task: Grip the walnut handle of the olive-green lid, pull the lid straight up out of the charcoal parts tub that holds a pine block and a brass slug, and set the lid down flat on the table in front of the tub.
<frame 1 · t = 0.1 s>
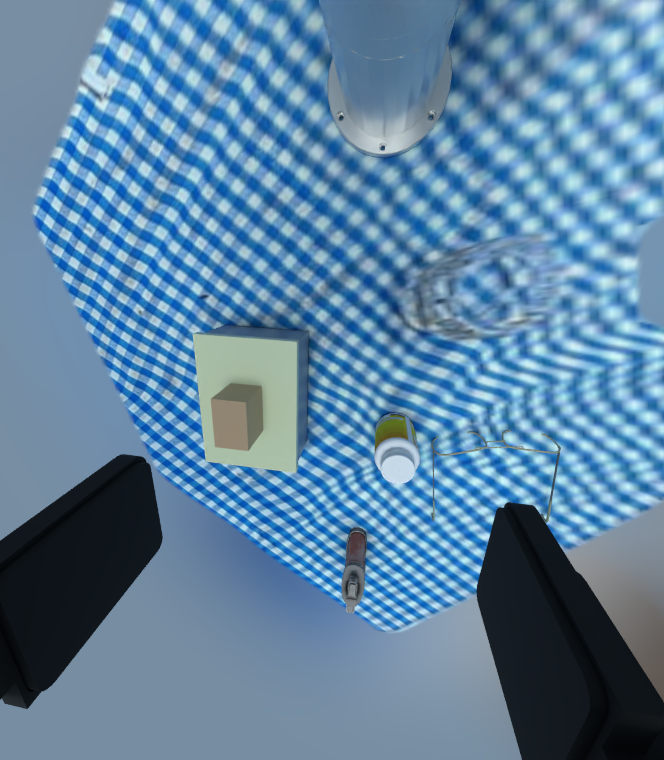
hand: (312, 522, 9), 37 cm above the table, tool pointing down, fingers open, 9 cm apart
lid: (250, 403, 42), point 7 cm above the table, touching tub
lighter: (356, 544, 56), on the table
eyeglasses: (485, 472, 49), on the table
tub: (268, 385, 48), on the table
supplement bottle: (394, 428, 48), on the table
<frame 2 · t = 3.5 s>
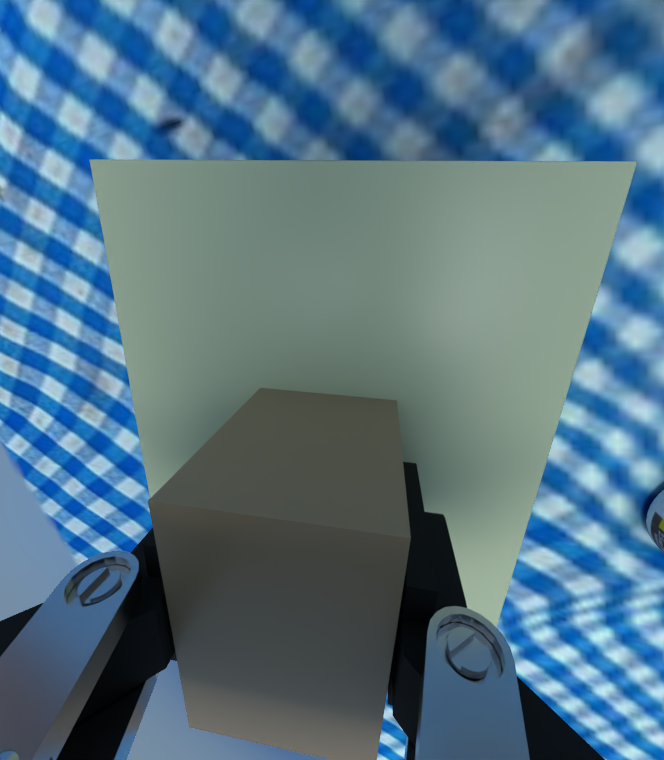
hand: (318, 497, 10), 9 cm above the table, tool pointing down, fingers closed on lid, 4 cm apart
lid: (328, 463, 11), point 7 cm above the table, touching gripper, tub
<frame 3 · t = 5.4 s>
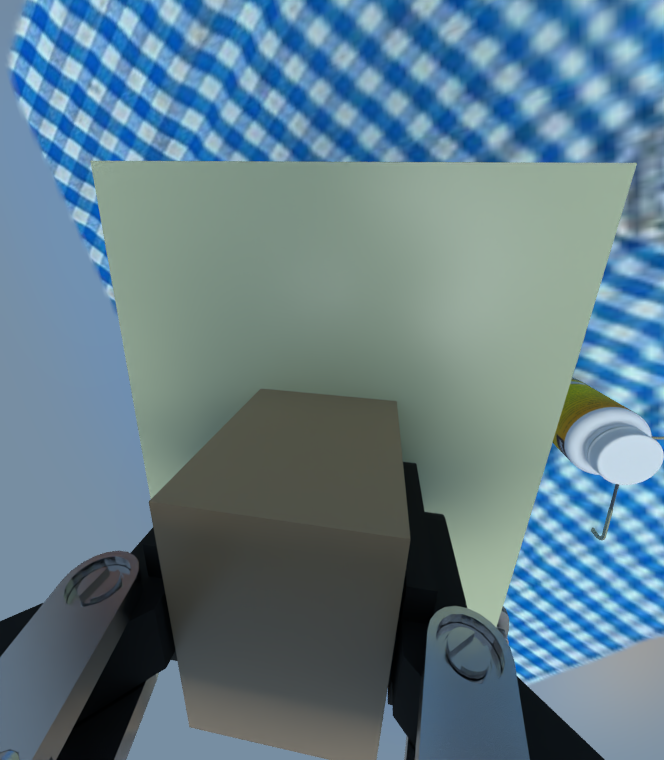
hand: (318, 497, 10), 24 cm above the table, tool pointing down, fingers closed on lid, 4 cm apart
lid: (328, 463, 11), point 22 cm above the table, touching gripper
supplement bottle: (554, 401, 32), on the table
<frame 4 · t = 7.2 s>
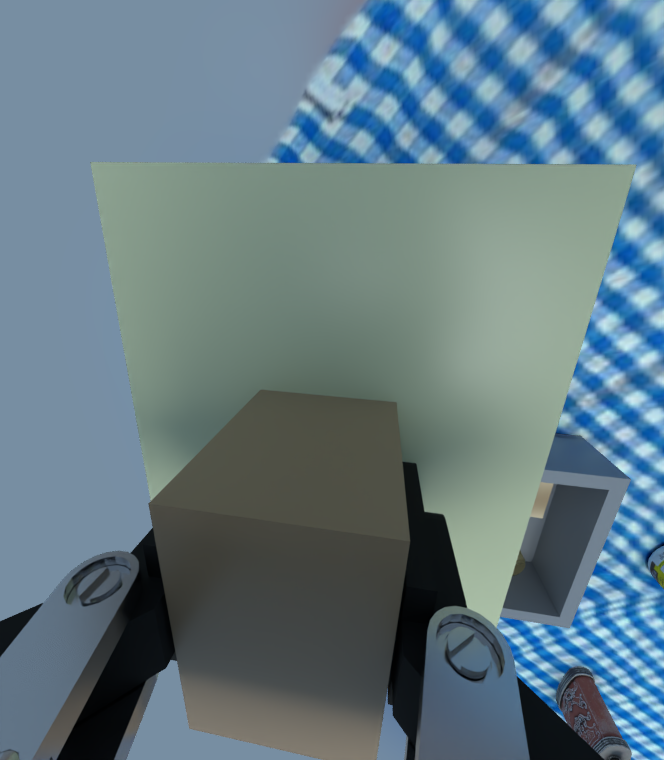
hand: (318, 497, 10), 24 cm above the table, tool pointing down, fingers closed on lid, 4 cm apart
brass slug: (493, 533, 37), point 1 cm above the table, touching tub
lid: (328, 464, 11), point 22 cm above the table, touching gripper
lighter: (572, 684, 44), on the table
tub: (498, 498, 36), on the table
pine block: (509, 472, 34), point 1 cm above the table, touching tub
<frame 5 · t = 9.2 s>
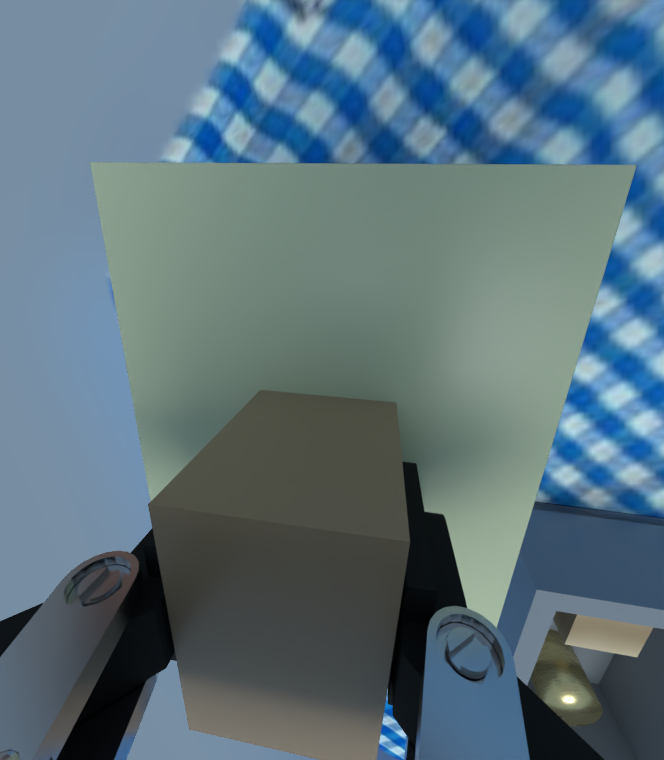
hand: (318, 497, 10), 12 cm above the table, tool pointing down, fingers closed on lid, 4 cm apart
brass slug: (544, 644, 26), point 1 cm above the table, touching tub
lid: (328, 464, 11), point 11 cm above the table, touching gripper
tub: (553, 598, 25), on the table
pine block: (574, 568, 23), point 1 cm above the table, touching tub
when the fingers open (5 cm above the table, at t = 11.0 s): lid drops 2 cm, point 1 cm above the table.
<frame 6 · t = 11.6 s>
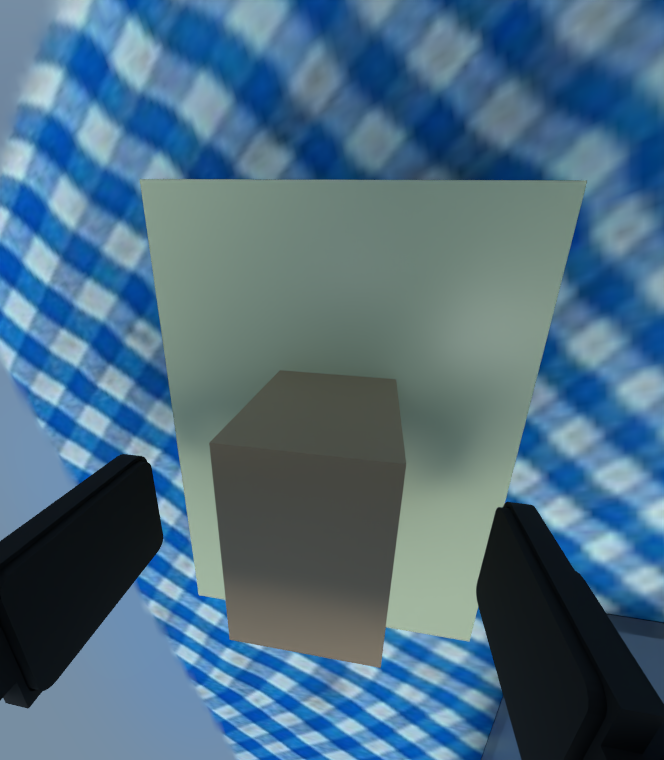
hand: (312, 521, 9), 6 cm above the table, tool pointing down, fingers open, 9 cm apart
lid: (337, 437, 13), point 1 cm above the table
tub: (613, 731, 18), on the table
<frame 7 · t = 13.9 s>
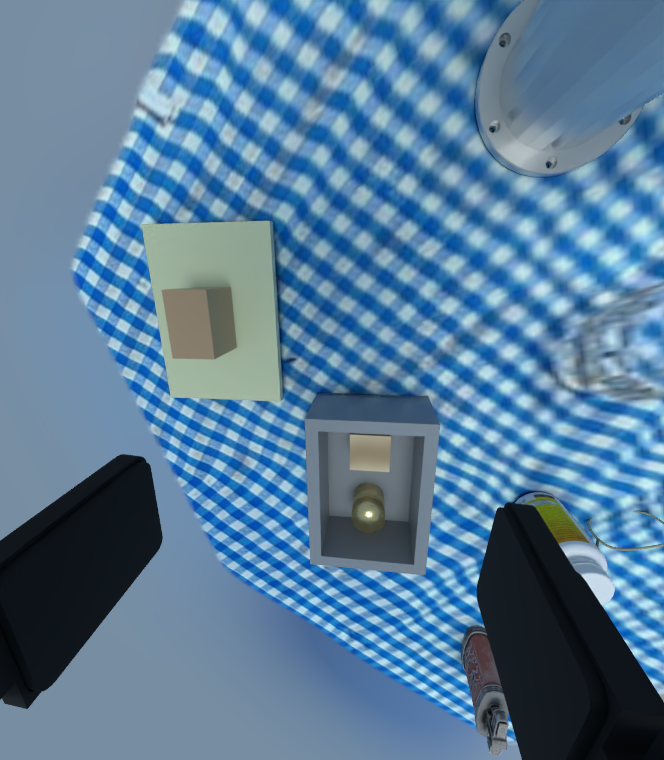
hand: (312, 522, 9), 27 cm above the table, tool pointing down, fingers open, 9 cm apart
brass slug: (368, 495, 39), point 1 cm above the table, touching tub
lid: (219, 316, 34), point 1 cm above the table
lighter: (473, 645, 45), on the table
tub: (369, 462, 39), on the table
supplement bottle: (534, 509, 38), on the table
pine block: (370, 435, 37), point 1 cm above the table, touching tub
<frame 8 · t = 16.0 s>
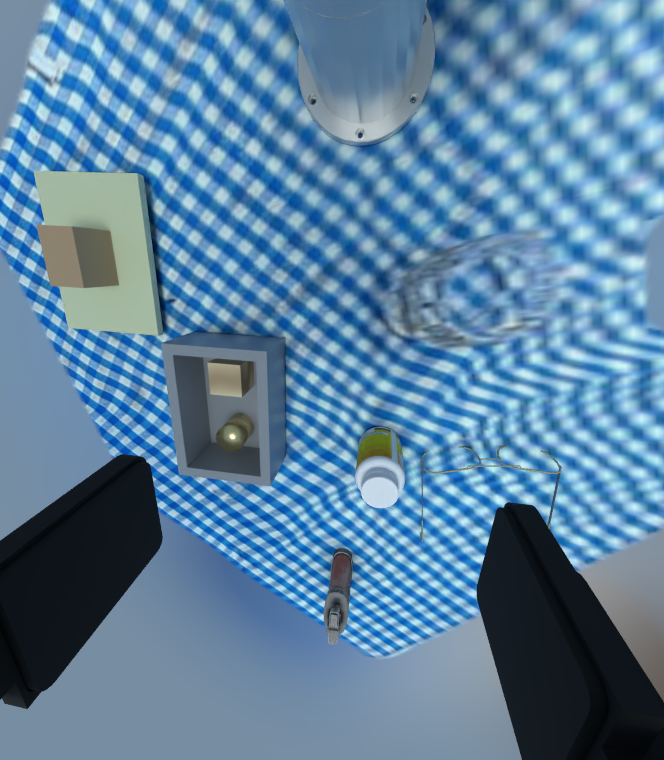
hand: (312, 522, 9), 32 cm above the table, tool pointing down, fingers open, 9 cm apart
brass slug: (242, 425, 45), point 1 cm above the table, touching tub
lid: (106, 258, 40), point 1 cm above the table
lighter: (342, 566, 52), on the table
eyeglasses: (479, 490, 45), on the table
tub: (242, 396, 45), on the table
supplement bottle: (380, 442, 44), on the table
pine block: (238, 370, 43), point 1 cm above the table, touching tub
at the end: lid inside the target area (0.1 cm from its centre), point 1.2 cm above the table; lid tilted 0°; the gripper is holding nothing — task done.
